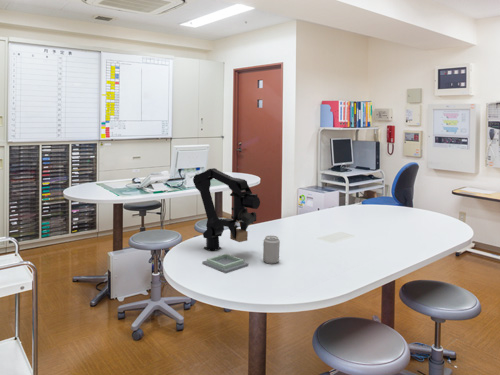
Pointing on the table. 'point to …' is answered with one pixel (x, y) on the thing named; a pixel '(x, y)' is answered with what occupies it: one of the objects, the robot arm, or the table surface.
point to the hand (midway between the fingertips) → (238, 237)
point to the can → (271, 249)
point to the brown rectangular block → (240, 235)
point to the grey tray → (225, 263)
